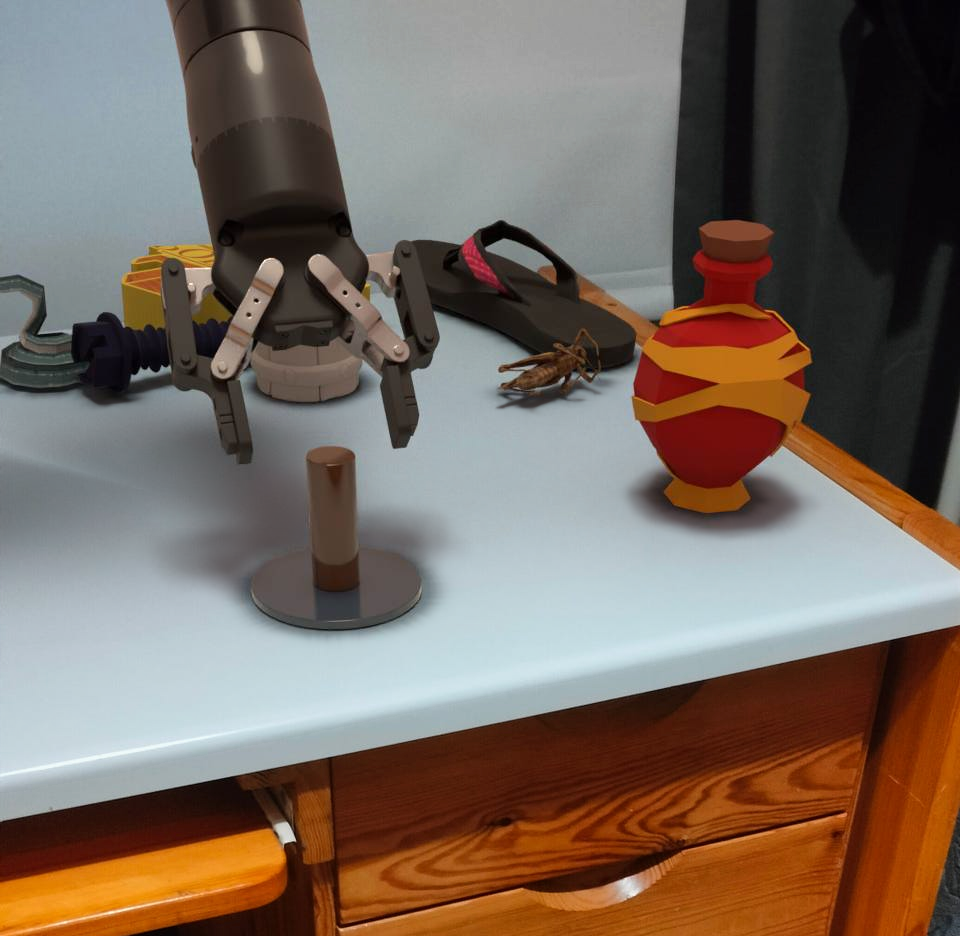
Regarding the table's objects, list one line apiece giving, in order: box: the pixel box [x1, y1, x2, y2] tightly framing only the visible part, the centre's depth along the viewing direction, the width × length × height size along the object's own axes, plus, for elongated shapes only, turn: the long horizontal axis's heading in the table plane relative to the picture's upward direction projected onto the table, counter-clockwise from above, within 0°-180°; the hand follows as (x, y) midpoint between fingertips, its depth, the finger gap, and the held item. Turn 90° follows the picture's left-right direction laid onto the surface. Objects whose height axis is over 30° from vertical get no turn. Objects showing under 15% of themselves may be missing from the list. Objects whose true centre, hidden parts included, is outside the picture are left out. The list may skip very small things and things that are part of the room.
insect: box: [496, 316, 602, 396], centre depth 112 cm, size 4×8×5 cm
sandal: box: [410, 219, 637, 370], centre depth 122 cm, size 9×25×6 cm, turn 34°
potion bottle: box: [630, 219, 813, 514], centre depth 95 cm, size 10×10×15 cm
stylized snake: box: [0, 274, 90, 389], centre depth 113 cm, size 7×20×6 cm, turn 121°
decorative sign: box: [120, 244, 371, 331], centre depth 122 cm, size 20×3×15 cm
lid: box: [250, 445, 423, 630], centre depth 88 cm, size 9×9×8 cm
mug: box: [250, 339, 364, 403], centre depth 111 cm, size 8×12×12 cm, turn 172°
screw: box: [71, 311, 234, 394], centre depth 114 cm, size 18×5×5 cm
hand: (325, 450), depth 87 cm, fingers open, 8 cm apart
